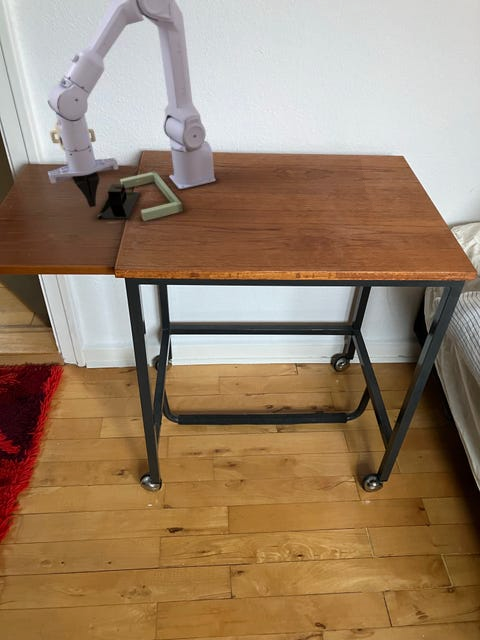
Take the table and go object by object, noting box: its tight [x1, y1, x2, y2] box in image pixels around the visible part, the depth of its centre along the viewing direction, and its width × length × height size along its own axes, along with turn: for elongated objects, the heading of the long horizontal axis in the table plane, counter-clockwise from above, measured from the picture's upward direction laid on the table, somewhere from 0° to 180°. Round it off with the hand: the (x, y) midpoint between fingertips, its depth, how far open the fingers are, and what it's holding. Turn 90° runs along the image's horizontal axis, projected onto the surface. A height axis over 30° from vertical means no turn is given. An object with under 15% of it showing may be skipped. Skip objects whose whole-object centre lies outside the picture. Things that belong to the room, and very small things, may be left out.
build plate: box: [96, 183, 141, 221], centre depth 122 cm, size 12×7×5 cm, turn 176°
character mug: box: [49, 120, 96, 165], centre depth 134 cm, size 11×7×13 cm, turn 90°
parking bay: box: [119, 171, 183, 222], centre depth 125 cm, size 9×19×2 cm, turn 25°
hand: (92, 204), depth 120 cm, fingers closed
